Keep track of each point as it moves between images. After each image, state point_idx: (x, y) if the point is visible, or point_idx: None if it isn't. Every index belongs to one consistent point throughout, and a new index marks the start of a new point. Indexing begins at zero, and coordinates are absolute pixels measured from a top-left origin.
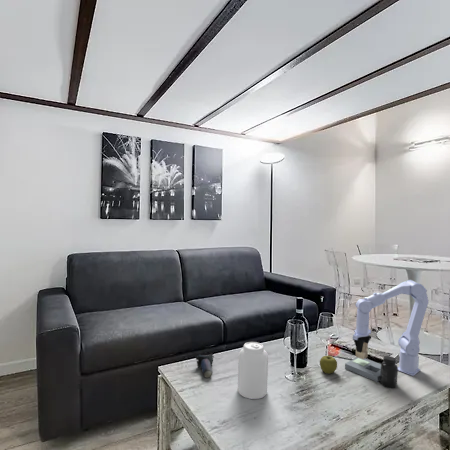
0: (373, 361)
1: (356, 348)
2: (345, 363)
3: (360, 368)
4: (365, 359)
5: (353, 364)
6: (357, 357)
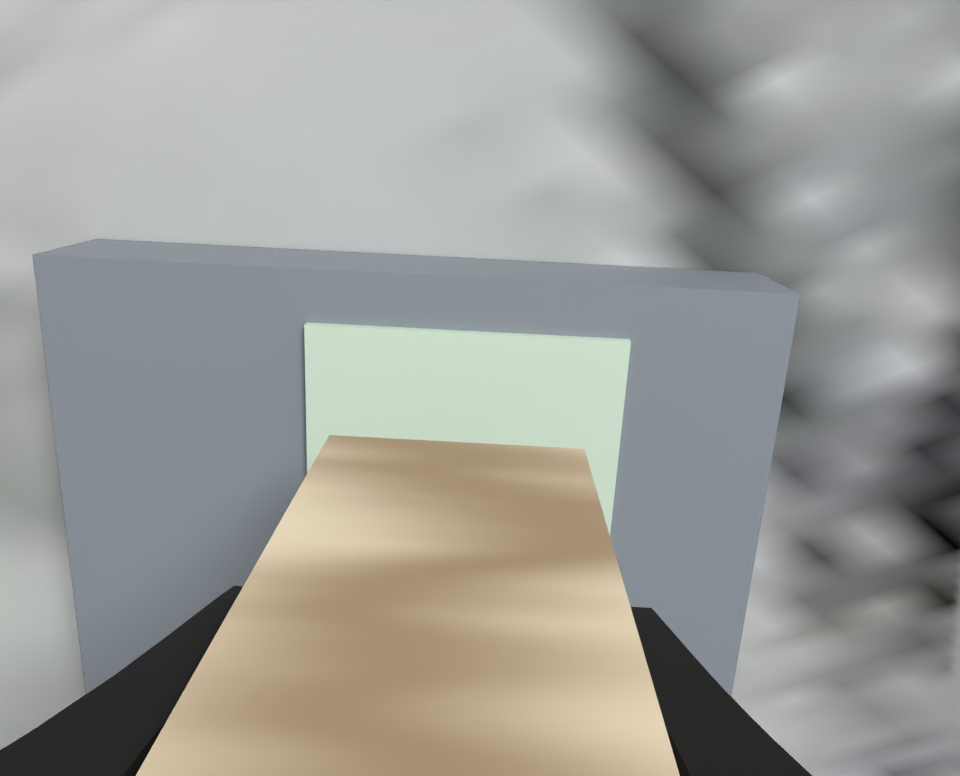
0: (735, 644)
1: (166, 646)
2: (47, 258)
3: (138, 602)
4: (703, 486)
5: (183, 416)
6: (668, 299)
